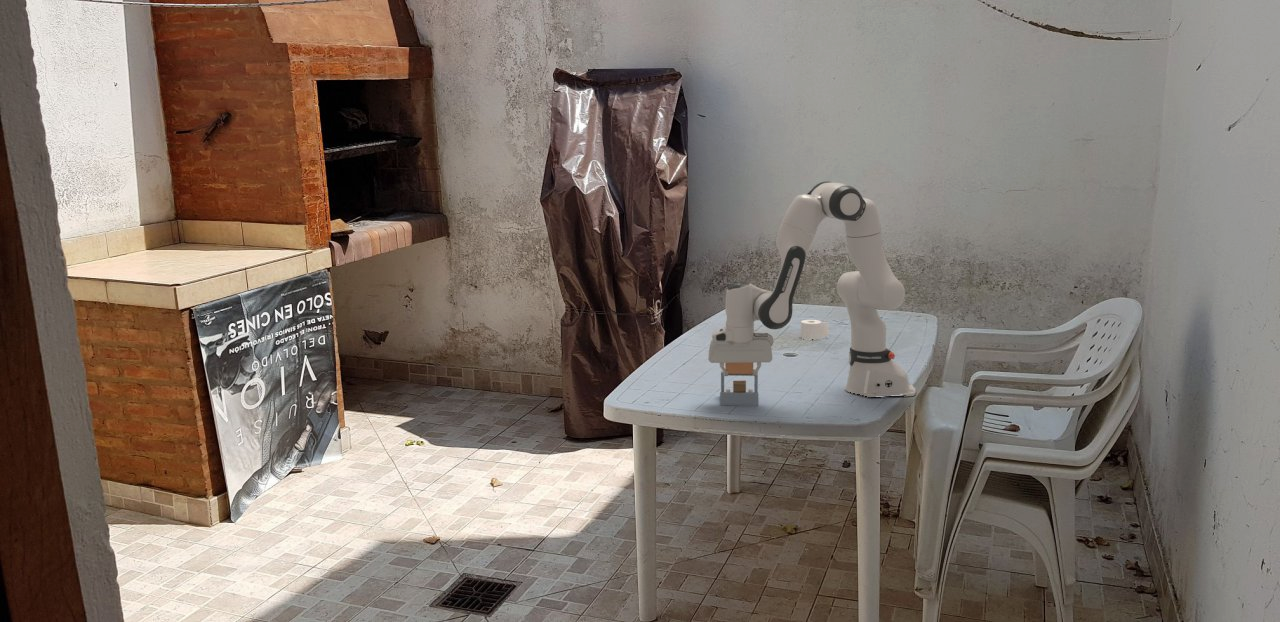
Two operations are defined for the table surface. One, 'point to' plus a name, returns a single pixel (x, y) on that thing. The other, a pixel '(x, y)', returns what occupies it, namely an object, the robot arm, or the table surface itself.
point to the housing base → (739, 395)
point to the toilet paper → (814, 329)
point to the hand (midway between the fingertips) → (740, 375)
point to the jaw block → (739, 386)
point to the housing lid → (739, 369)
